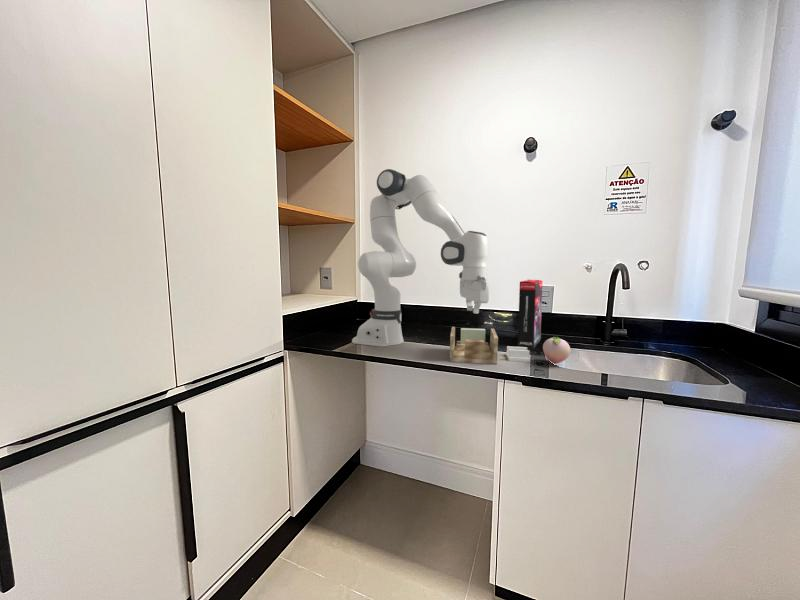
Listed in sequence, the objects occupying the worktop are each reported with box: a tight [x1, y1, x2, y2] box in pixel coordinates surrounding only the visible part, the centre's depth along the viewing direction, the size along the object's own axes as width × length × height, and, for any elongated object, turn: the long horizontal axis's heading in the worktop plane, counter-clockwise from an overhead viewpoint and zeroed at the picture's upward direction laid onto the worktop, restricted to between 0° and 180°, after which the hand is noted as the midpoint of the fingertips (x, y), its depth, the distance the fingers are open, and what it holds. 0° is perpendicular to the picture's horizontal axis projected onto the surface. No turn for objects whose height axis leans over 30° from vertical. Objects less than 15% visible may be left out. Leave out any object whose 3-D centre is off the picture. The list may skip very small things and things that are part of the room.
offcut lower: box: [464, 348, 482, 359], centre depth 116 cm, size 6×4×3 cm, turn 79°
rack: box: [449, 326, 499, 365], centre depth 121 cm, size 16×16×9 cm
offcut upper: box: [465, 339, 484, 351], centre depth 116 cm, size 6×4×3 cm, turn 85°
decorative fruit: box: [542, 335, 571, 365], centre depth 113 cm, size 9×8×10 cm
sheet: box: [460, 327, 486, 345], centre depth 126 cm, size 9×2×8 cm, turn 82°
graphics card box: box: [517, 279, 543, 349], centre depth 139 cm, size 17×7×27 cm, turn 149°
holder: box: [505, 345, 531, 363], centre depth 119 cm, size 7×8×4 cm
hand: (472, 311), depth 125 cm, fingers open, 5 cm apart
